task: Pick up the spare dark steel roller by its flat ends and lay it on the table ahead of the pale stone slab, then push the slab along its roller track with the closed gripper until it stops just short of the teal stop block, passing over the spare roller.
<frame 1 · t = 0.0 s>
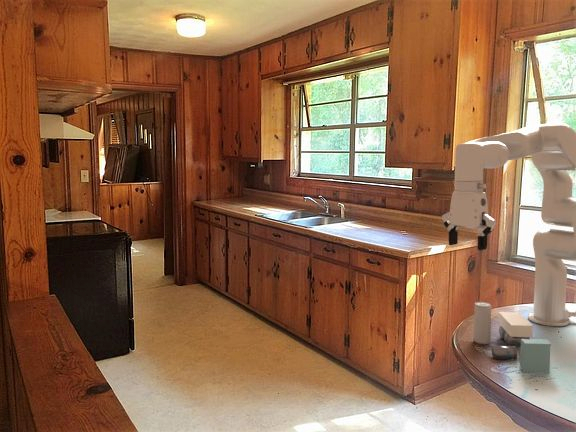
hand: (467, 247, 138), 31 cm above the table, tool pointing down, fingers open, 9 cm apart
beverage can: (481, 342, 149), on the table
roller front: (516, 345, 145), on the table
slab: (514, 324, 147), point 6 cm above the table, slide at 0.0 cm
stop block: (534, 370, 129), on the table
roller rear: (510, 338, 151), on the table
spare roller: (504, 358, 137), on the table
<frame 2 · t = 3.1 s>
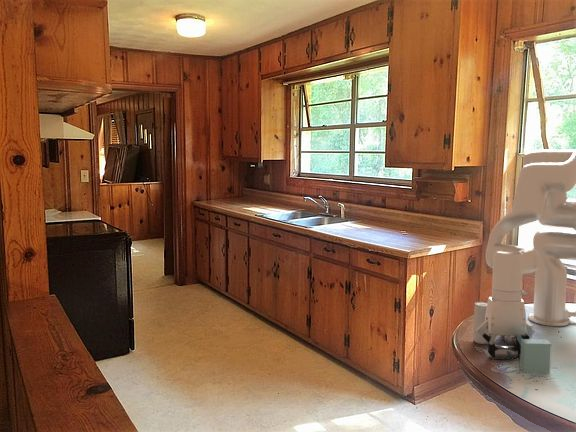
hand: (504, 356, 137), 1 cm above the table, tool pointing down, fingers closed on spare roller, 6 cm apart
spare roller: (504, 358, 137), on the table, tilted 5°, touching gripper
everything else where it was.
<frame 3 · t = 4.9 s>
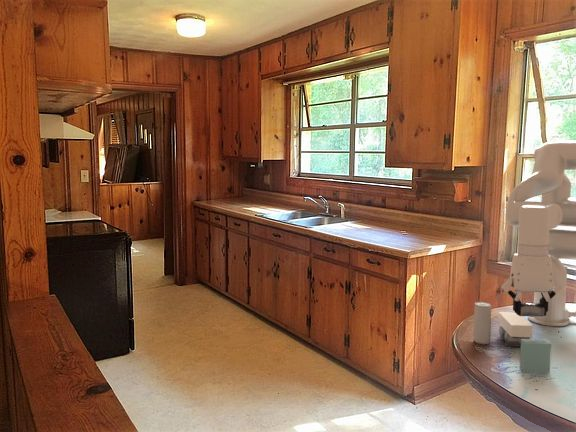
hand: (530, 313, 134), 13 cm above the table, tool pointing down, fingers closed on spare roller, 6 cm apart
spare roller: (529, 315, 134), point 13 cm above the table, tilted 5°, touching gripper
everything else where it was.
when the fingers open (1 cm above the table, at t = 7.1 s): spare roller stays where it is, on the table.
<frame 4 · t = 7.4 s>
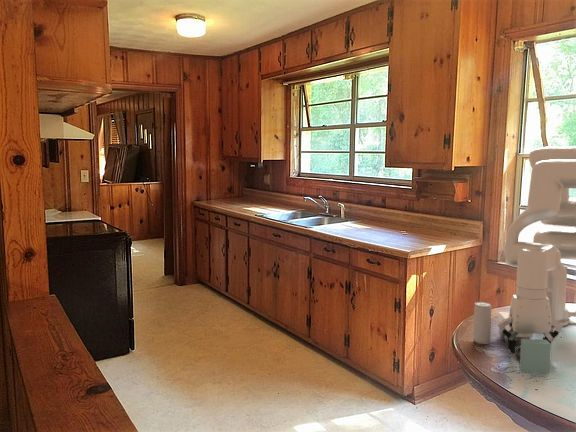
hand: (528, 352, 136), 2 cm above the table, tool pointing down, fingers open, 8 cm apart
spare roller: (528, 359, 136), on the table, tilted 6°
everything else where it was.
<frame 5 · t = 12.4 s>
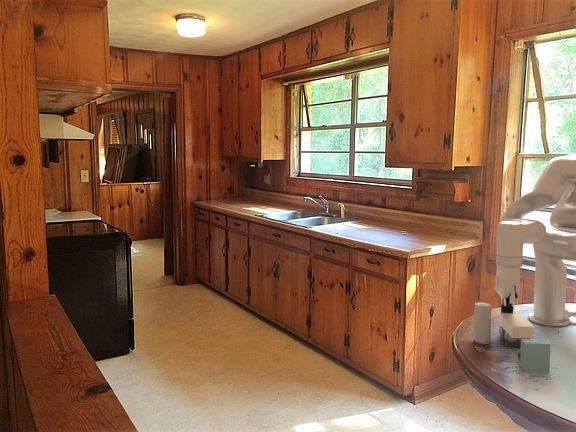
hand: (506, 317, 154), 6 cm above the table, tool pointing down, fingers closed
slab: (515, 325, 146), point 6 cm above the table, slide at 1.0 cm, touching gripper
spare roller: (529, 356, 136), point 1 cm above the table, tilted 63°
everything else where it was.
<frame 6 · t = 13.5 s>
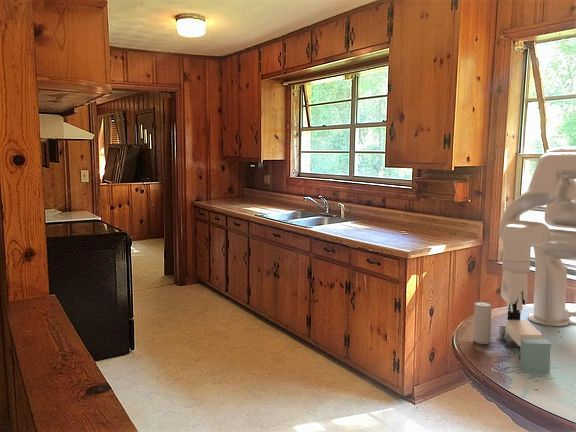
hand: (513, 324, 148), 6 cm above the table, tool pointing down, fingers closed
slab: (523, 332, 140), point 6 cm above the table, slide at 7.3 cm, touching gripper
spare roller: (530, 354, 135), point 2 cm above the table, tilted 90°
everything else where it was.
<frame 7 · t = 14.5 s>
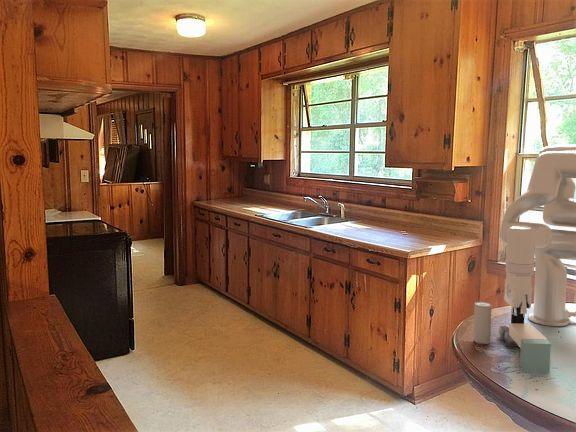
hand: (517, 327, 145), 6 cm above the table, tool pointing down, fingers closed
slab: (527, 336, 137), point 6 cm above the table, slide at 10.5 cm
spare roller: (531, 353, 134), point 3 cm above the table, tilted 119°
everything else where it was.
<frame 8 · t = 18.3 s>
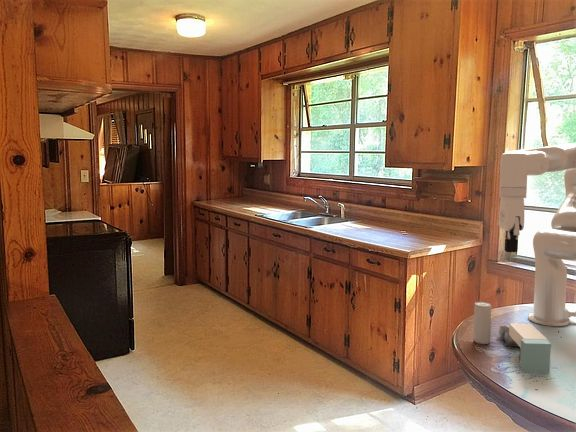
hand: (510, 251, 150), 27 cm above the table, tool pointing down, fingers closed
spare roller: (530, 353, 134), point 2 cm above the table, tilted 101°
everything else where it was.
at the end: slab slide at 10.5 cm; spare roller inside the target area (1.5 cm from its centre), point 2.0 cm above the table; the gripper is holding nothing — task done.
